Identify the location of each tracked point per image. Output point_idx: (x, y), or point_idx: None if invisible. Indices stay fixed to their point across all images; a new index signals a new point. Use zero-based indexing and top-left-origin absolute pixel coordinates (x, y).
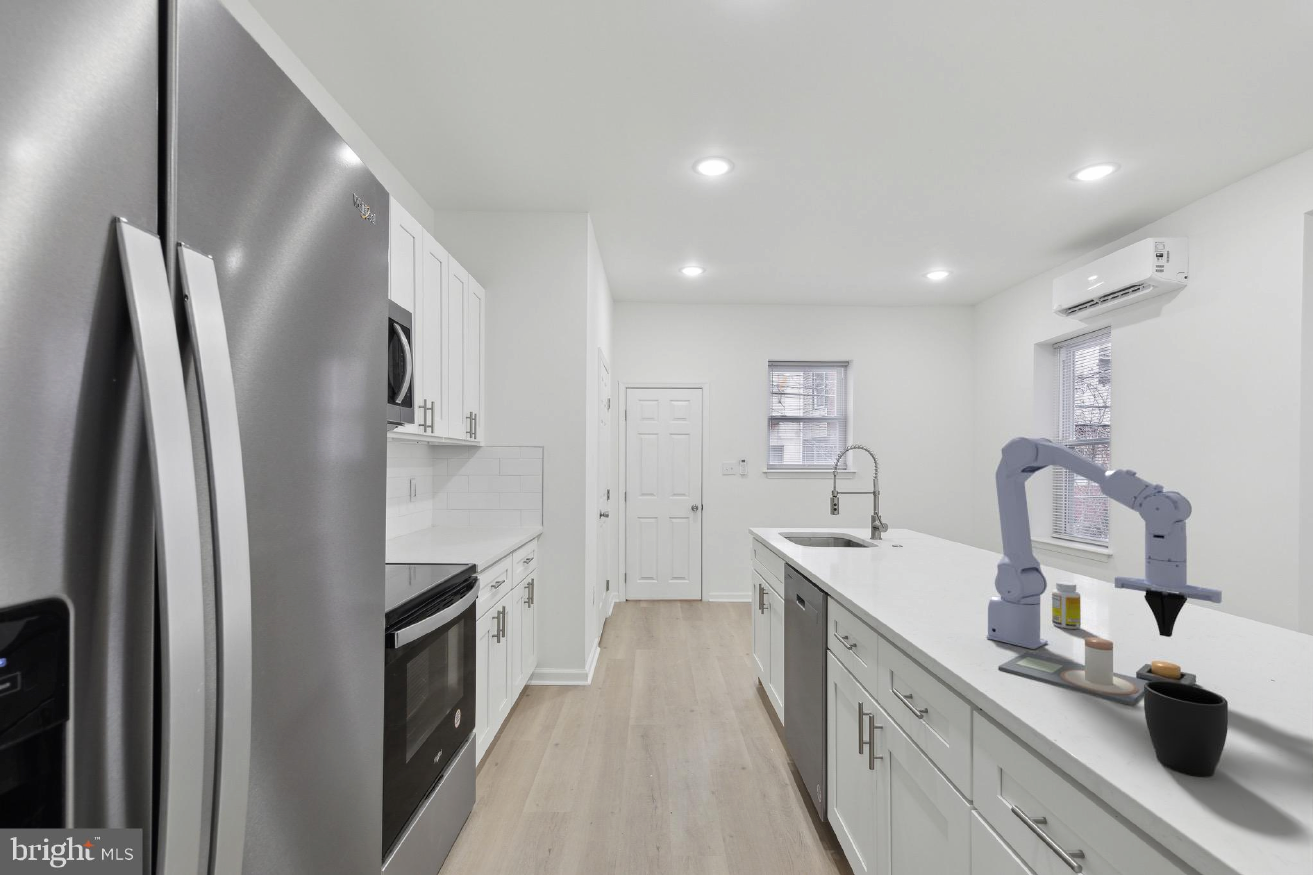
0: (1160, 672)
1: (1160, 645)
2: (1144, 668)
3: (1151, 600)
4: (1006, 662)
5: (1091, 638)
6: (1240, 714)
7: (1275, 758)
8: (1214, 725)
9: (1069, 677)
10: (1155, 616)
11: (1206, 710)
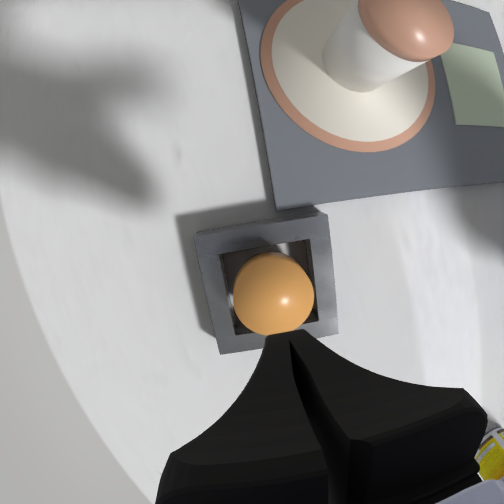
0: (273, 254)
1: None
2: (326, 279)
3: (423, 405)
4: (501, 49)
5: (442, 29)
6: (74, 182)
7: (12, 14)
8: None
9: None
10: (348, 362)
11: None
